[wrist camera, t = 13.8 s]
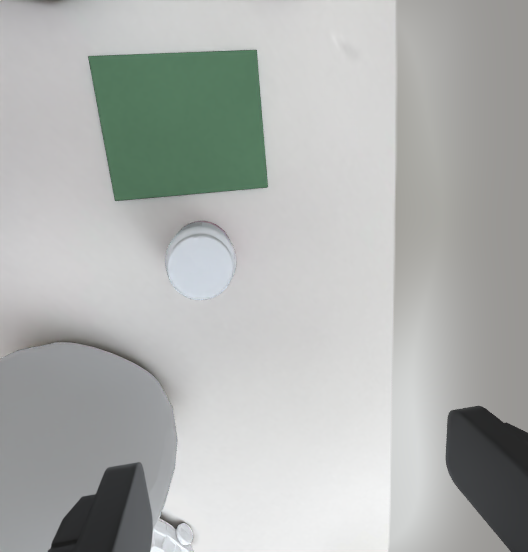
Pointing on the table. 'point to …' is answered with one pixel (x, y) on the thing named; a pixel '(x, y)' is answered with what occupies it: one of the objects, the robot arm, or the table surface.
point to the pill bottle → (200, 260)
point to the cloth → (180, 122)
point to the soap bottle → (75, 435)
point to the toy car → (171, 537)
